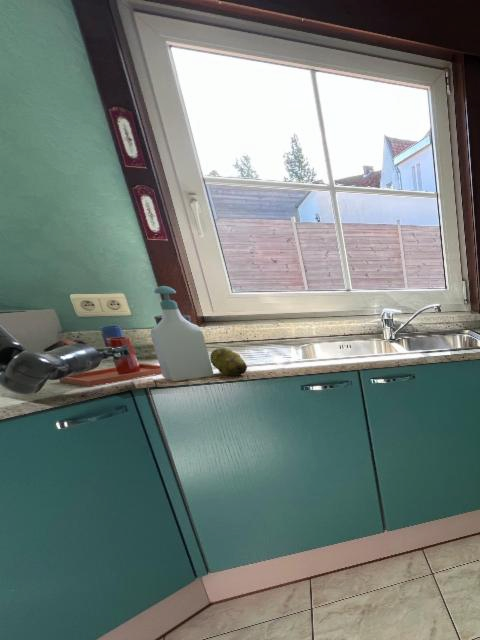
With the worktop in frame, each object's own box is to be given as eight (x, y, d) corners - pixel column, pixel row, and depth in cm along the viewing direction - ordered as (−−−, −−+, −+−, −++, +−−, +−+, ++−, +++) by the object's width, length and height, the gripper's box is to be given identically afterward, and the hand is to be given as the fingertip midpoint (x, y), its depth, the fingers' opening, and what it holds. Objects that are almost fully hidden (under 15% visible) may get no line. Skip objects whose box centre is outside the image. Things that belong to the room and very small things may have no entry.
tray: (90, 386, 141) (88, 381, 140) (60, 381, 145) (57, 376, 144) (171, 372, 160) (170, 366, 160) (143, 368, 164) (141, 363, 163)
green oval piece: (218, 379, 154) (212, 353, 151) (212, 371, 162) (206, 347, 159) (250, 375, 159) (244, 351, 156) (242, 368, 168) (236, 345, 165)
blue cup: (116, 359, 174) (105, 328, 170) (106, 358, 176) (95, 327, 172) (134, 357, 179) (124, 326, 175) (123, 355, 180) (113, 325, 176)
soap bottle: (202, 371, 162) (178, 284, 152) (213, 375, 158) (190, 286, 148) (161, 377, 153) (133, 285, 143) (172, 381, 149) (144, 287, 139)
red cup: (120, 376, 151) (108, 340, 147) (115, 373, 154) (103, 338, 150) (143, 373, 156) (132, 338, 151) (138, 370, 158) (127, 336, 154)
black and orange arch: (79, 363, 169) (54, 343, 164) (58, 374, 171) (33, 354, 166) (102, 348, 179) (79, 329, 174) (83, 358, 180) (60, 340, 175)
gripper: (100, 345, 133) (134, 336, 147) (33, 346, 129) (74, 337, 143) (110, 372, 136) (142, 361, 150) (44, 374, 132) (84, 362, 146)
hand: (109, 349), depth 147 cm, fingers open, 8 cm apart
